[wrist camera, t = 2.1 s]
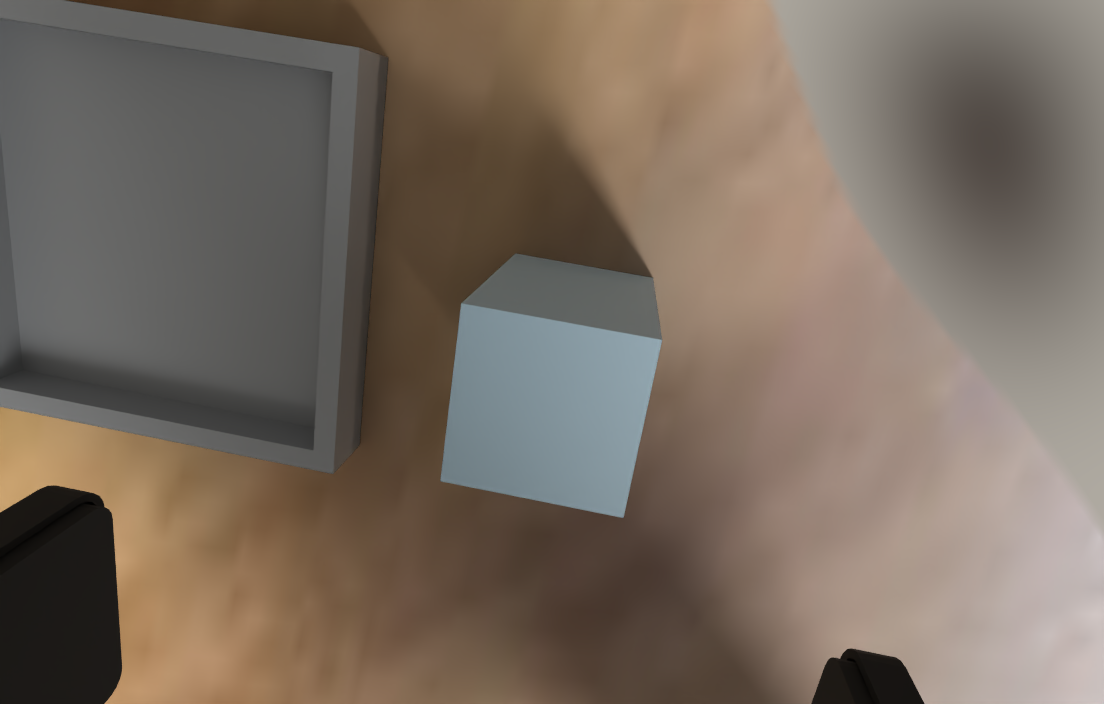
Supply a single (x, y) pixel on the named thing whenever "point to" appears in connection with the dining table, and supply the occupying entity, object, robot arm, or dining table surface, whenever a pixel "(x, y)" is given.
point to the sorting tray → (187, 229)
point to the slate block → (552, 383)
